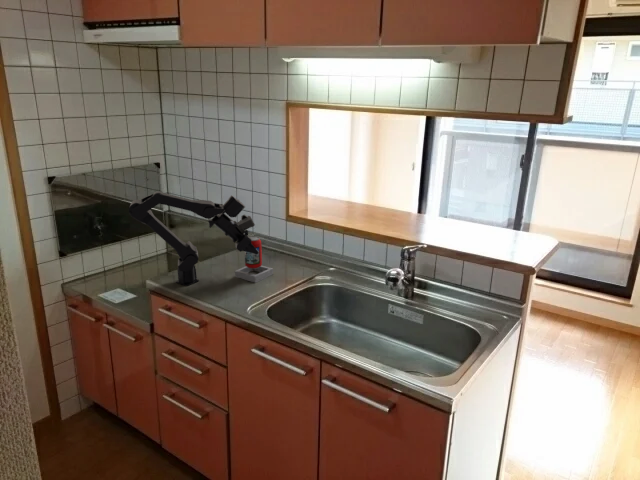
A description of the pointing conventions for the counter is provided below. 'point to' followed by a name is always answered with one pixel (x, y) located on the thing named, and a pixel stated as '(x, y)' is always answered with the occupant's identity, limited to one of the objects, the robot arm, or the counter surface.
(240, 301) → the counter surface
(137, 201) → the robot arm
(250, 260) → the beverage can
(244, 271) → the holder
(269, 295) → the counter surface
